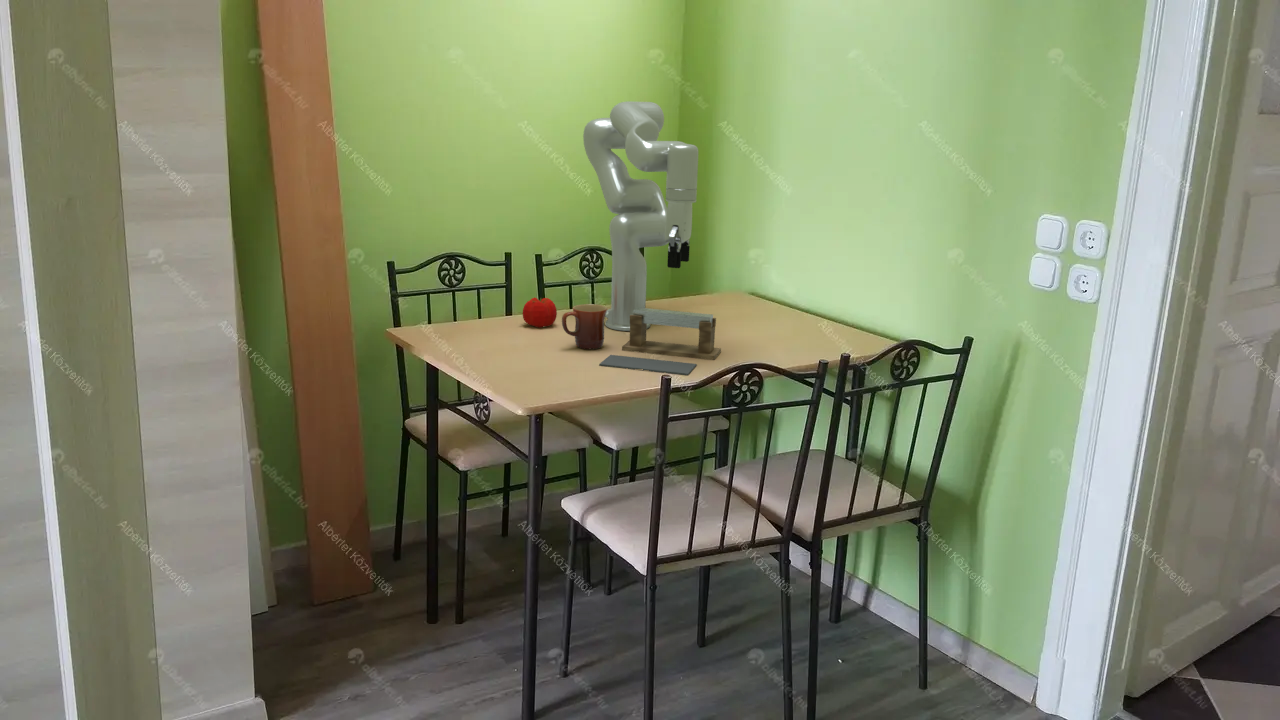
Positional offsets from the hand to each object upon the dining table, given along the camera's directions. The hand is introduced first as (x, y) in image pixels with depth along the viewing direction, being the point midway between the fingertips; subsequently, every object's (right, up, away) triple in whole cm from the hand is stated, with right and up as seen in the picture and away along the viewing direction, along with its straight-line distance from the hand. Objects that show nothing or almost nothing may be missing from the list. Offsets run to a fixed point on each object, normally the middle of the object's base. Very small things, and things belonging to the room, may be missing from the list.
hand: (678, 264), depth 250 cm
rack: (-2, -22, +6) cm, 22 cm away
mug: (-24, -21, +7) cm, 33 cm away
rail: (-1, -15, +4) cm, 15 cm away
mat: (-8, -25, -8) cm, 27 cm away
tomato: (-38, -15, +28) cm, 49 cm away
